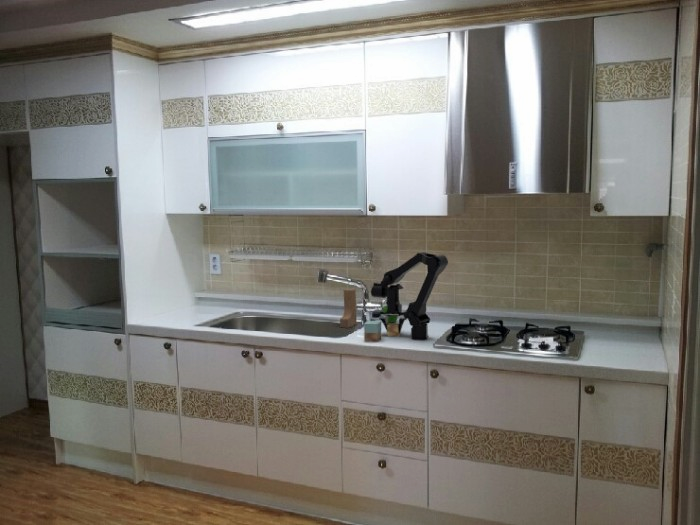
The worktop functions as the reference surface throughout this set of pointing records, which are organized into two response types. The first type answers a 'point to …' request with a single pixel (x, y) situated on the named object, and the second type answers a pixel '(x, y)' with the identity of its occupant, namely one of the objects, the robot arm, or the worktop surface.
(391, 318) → the bell pepper
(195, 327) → the worktop surface
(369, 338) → the base block
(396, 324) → the oak cube
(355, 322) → the wooden block
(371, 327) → the top block
